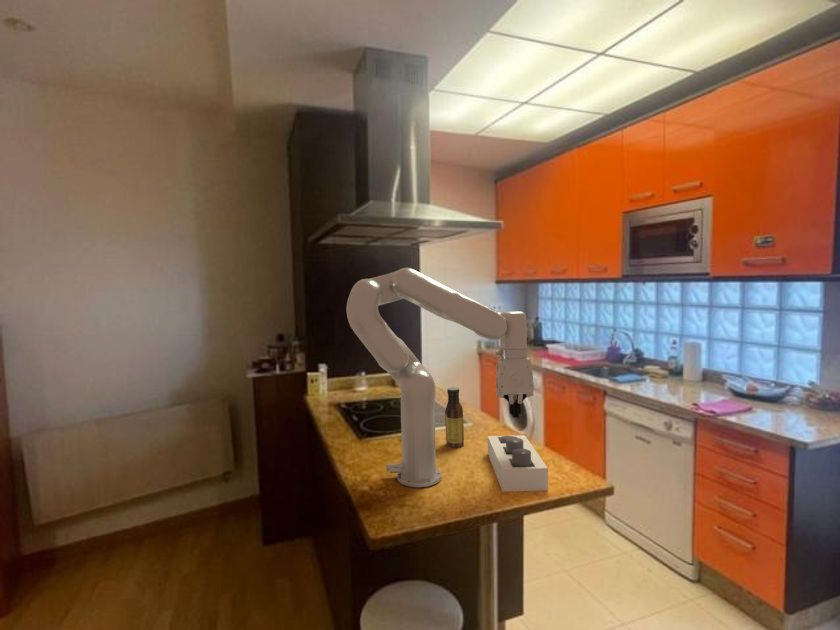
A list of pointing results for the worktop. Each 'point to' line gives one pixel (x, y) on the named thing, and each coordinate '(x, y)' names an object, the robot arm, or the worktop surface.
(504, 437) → the far cap
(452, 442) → the sauce bottle
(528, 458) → the near cap
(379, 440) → the worktop surface
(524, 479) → the button panel
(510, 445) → the middle cap
